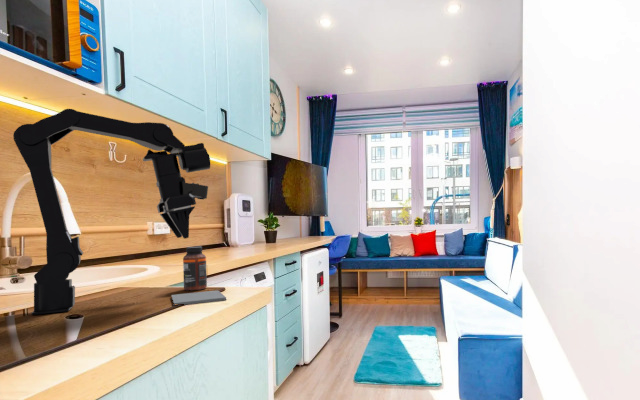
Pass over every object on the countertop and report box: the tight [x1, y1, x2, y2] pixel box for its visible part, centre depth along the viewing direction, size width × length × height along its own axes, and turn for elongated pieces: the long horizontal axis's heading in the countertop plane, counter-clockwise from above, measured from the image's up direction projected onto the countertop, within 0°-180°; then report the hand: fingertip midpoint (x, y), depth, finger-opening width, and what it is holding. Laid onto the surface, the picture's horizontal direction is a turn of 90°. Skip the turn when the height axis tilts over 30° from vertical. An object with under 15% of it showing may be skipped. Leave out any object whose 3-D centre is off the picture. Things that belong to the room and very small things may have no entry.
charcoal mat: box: [170, 290, 227, 306], centre depth 91 cm, size 11×11×1 cm
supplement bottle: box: [182, 245, 208, 292], centre depth 105 cm, size 6×6×11 cm
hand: (182, 237), depth 97 cm, fingers open, 9 cm apart
